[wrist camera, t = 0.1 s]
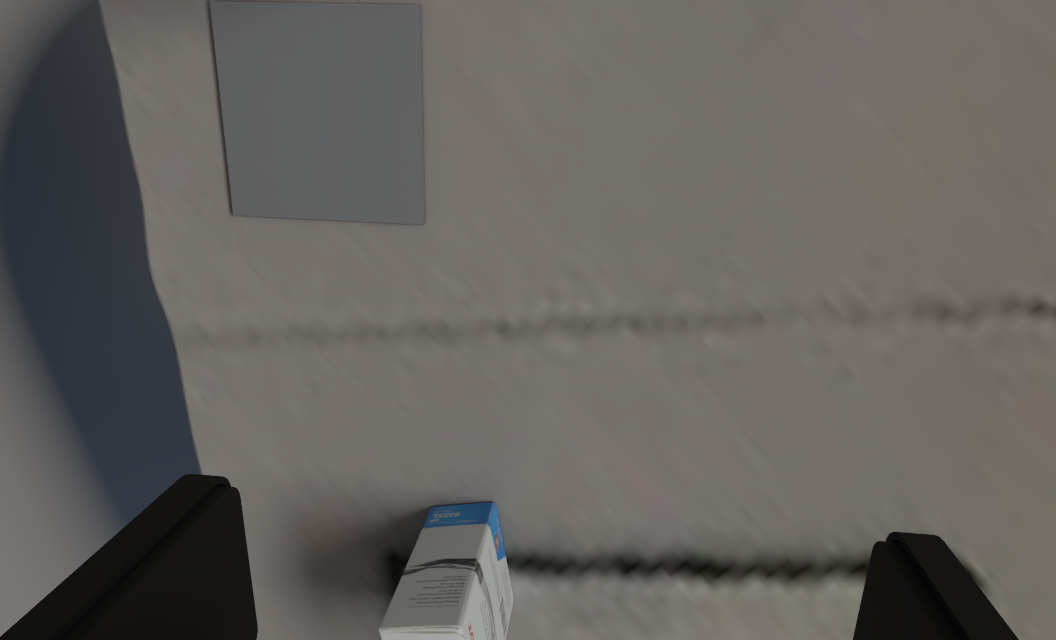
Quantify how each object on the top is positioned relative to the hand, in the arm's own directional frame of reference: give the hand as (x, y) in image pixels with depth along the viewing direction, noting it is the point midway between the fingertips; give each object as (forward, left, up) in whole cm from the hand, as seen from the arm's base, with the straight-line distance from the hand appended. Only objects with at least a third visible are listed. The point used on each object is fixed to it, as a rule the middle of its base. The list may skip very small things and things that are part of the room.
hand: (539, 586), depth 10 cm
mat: (-5, -16, -31) cm, 35 cm away
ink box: (+24, -7, -31) cm, 40 cm away
